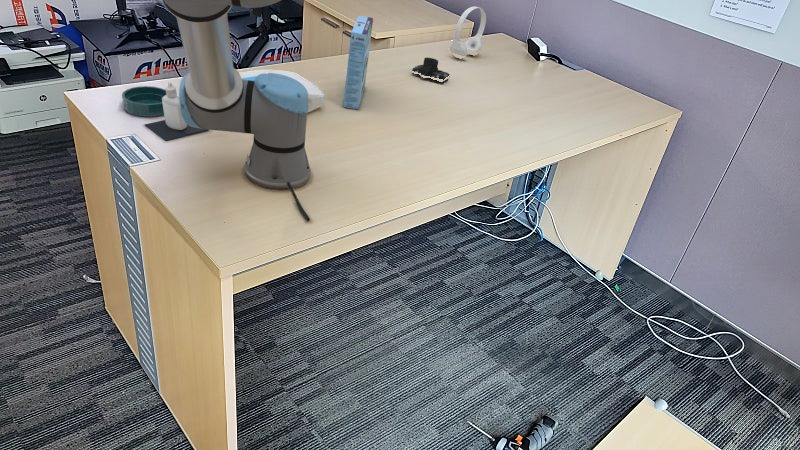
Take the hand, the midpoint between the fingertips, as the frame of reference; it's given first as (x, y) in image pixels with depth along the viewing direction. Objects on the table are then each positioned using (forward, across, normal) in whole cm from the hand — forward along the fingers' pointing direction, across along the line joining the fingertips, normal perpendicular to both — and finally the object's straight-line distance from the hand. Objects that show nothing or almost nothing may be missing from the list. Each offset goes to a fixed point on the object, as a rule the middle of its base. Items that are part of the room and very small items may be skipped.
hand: (233, 18), depth 145 cm
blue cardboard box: (+29, -45, +1) cm, 54 cm away
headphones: (+29, -118, -8) cm, 121 cm away
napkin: (+29, +13, -6) cm, 32 cm away
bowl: (+29, +12, -20) cm, 37 cm away
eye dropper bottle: (+28, +13, -6) cm, 32 cm away
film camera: (+29, -84, +1) cm, 89 cm away
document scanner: (+29, -16, -8) cm, 34 cm away
